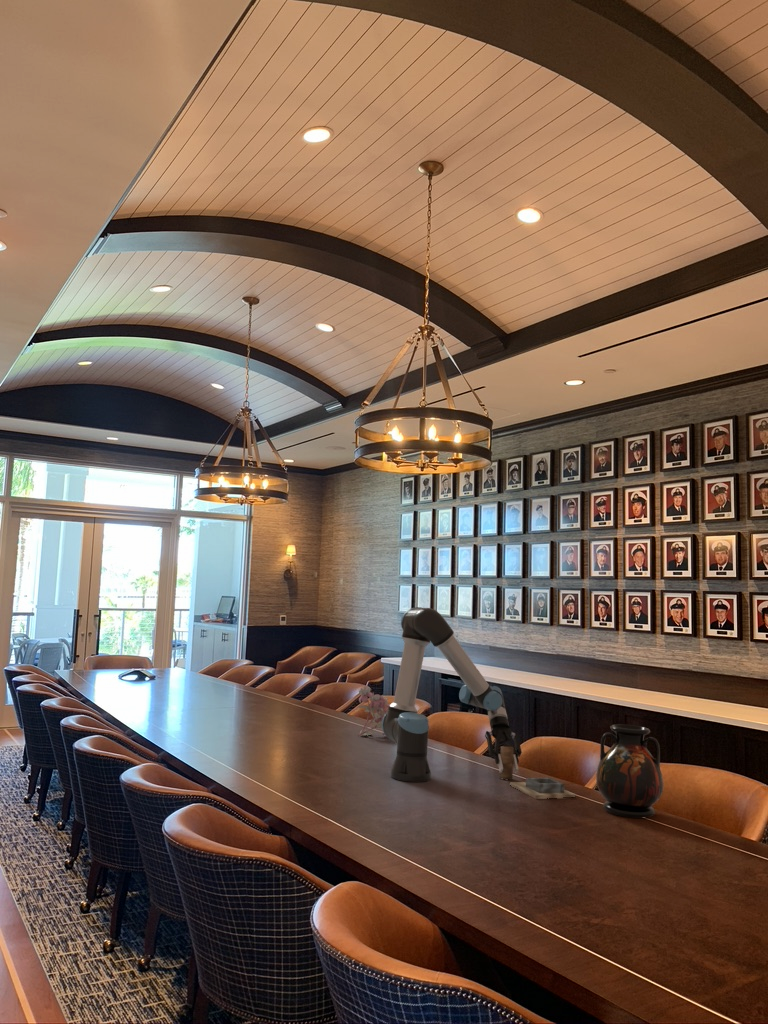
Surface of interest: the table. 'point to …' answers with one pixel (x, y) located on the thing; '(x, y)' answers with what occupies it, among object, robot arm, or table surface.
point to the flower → (373, 709)
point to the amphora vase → (629, 773)
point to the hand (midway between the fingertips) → (509, 770)
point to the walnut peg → (507, 762)
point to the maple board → (542, 788)
